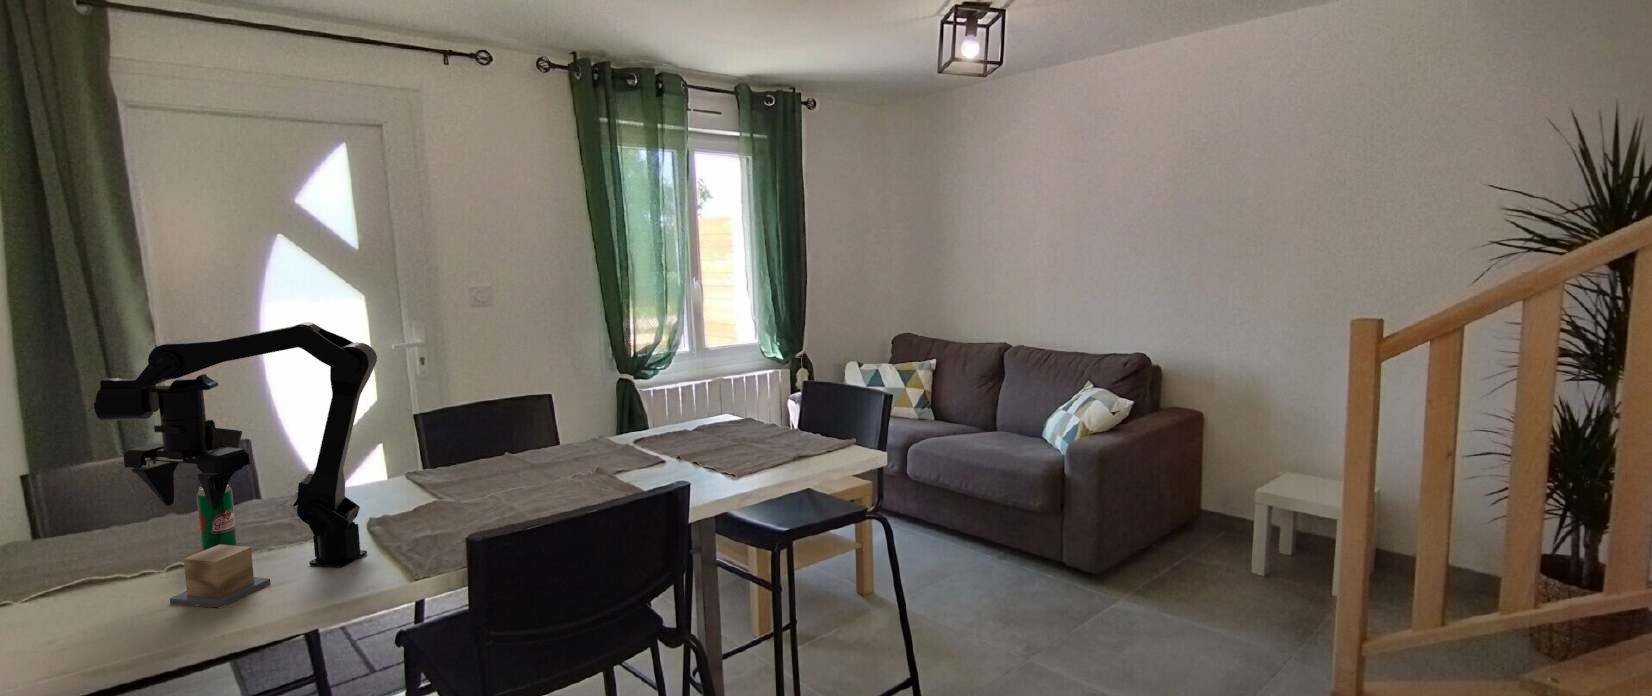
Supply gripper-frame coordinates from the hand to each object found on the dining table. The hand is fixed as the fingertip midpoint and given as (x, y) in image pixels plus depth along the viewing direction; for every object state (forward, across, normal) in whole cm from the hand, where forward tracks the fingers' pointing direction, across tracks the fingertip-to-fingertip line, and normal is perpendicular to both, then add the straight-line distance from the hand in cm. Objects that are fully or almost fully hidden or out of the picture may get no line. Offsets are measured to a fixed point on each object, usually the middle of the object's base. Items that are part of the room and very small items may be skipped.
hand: (192, 507), depth 127 cm
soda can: (+12, +7, -10) cm, 17 cm away
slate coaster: (+12, -10, +5) cm, 16 cm away
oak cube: (+11, -10, +5) cm, 16 cm away
